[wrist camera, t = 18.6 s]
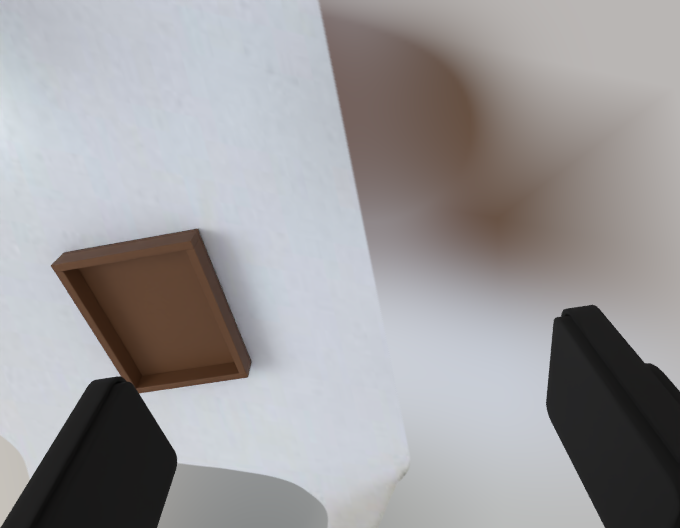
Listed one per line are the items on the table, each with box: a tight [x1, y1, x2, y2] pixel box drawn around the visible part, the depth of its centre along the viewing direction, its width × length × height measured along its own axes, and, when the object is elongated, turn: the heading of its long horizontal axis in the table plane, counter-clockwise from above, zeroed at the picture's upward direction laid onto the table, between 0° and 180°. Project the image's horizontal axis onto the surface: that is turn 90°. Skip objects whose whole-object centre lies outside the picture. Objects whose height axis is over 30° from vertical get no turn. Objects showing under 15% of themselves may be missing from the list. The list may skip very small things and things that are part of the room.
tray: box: [51, 229, 251, 393], centre depth 46 cm, size 18×14×2 cm
